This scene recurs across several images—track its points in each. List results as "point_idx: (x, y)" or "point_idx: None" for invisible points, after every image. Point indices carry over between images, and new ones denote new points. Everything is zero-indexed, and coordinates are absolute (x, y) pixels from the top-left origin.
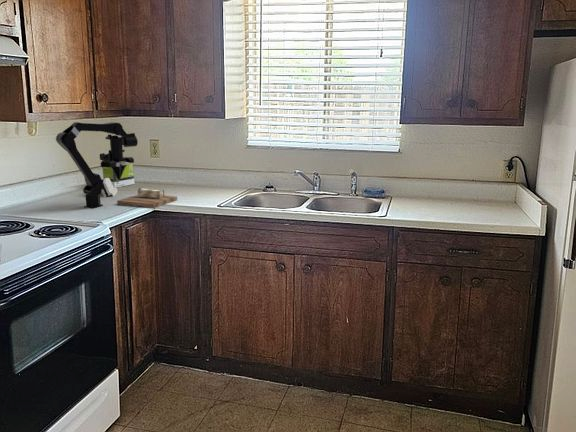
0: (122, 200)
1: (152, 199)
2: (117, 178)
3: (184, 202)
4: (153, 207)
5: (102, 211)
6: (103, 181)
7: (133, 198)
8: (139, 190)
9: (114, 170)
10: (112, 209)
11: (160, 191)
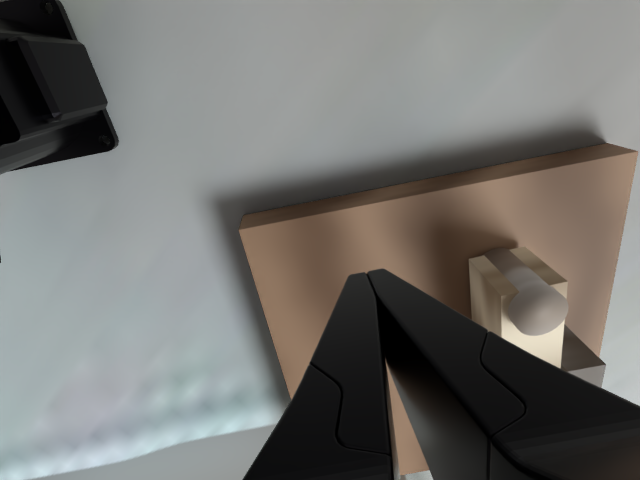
0: (275, 262)
1: None
2: (346, 280)
3: None
4: None
5: (16, 315)
6: None
7: (392, 272)
8: (497, 309)
9: (279, 464)
10: (111, 319)
11: None
